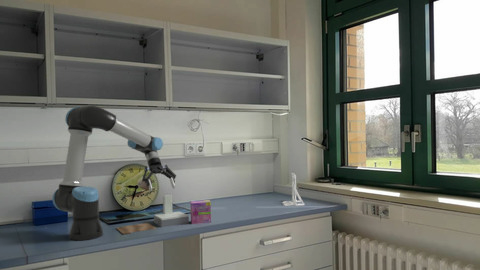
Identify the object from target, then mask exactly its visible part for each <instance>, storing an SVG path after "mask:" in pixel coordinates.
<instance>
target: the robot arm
mask: <svg viewBox="0 0 480 270" xmlns="http://www.w3.org/2000/svg"><path fill="white" fill-rule="evenodd" d="M65 123H66V125H67V126H68V128H67V131H68V133H69V135H70V137H69V141H68V147H67V154H66V161H65V167H64V173H63V179H62V181H61V182H59V183H58V188H57V189H55V191H54V192H53V194H52V199H51V200H52V204H53V206H54V207H55V208H56V209H57V210H59V211H61V212H65V213H66V212H67V213H72V223H71V227H70V230H69V233H68V236H69V239H70V240H72V241H87V240H88V241H89V240H92V239H97V238H99V237H102V236H103V235H104V229H103V226H102V223H101V220H100V210H99V209H100V208H99V207H100V205H99V204H100V203H99V199H100V197H99V191H98V189H97V188H96V187H93V186H86V185H84V184H83V182H82V181H83V180H82V179H83V175H84V174H83V173H84V167H85V161H86V160H85V159H86V154H87V147H88V141H89V137H90V136H91V135H92V134H93V130H94V129H96V130H97V129H99V130H102V131H105V132H111V133H114V134H116V135H117V136H120V137H122V138H125V139H127V147H129V148H130V149H132V150H135V151H138V152H140V153H142V154H144V156H145V159H146V162H147V166H144V171H143V172H144V174H143V176H142V180H141V181H142V182H144V183H145V184H146V186H147V187H148V189H149V191H150V192H152V191H153V189H154V188H153V186H152V182H151V177H152V176H153V175H154V174H155V175H156V174H158V175H159V174H160V175H163V176H165V177H167V178H168V179H169V181H170V184H171V187H172V190H175V188H176V184H175V183H176V180H175V179H176V178H177V174H176V173H175V172H174V171H173V170H171V168H169V167H168V166H169V165H167V164H165V165H164V166H163V165H162V161H161V159H160V156H159V153H158V151H160V150H162V148H163V146H164V142H163V139H162V138H161V137H158V136H157V137H156V136H152V135H150V134H148V133H146V132H144V131H143V130H140V129H139V128H136V127H135V126H133V125H130V124H129V123H127V122H125V121H123V120H122V119H119V118H118V117H117V115H116V114H114V113H112V112H110V111H108V110H107V109H105V108H103V107H99V106H96V105H86V106H85V105H84V106H83V105H82V106H81V105H79V106H75V107H72V108H71V109H70V110H68V111H67V113H66V114H65ZM148 171H150V172H149V174H148V175H147V172H148ZM146 176H147V177H146Z"/></svg>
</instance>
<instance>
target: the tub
mask: <svg viewBox="0 0 480 270" xmlns="http://www.w3.org/2000/svg"><path fill="white" fill-rule="evenodd" d="M189 221H190V220H189V215H188V217H181V218H174V219H167V220H160V219H159V218H157V217H155V216H153V223H154V224H156V226H157V225H158V226H159V227H161V228H166V227H172V226H179V225H184V224H185V225H186V224H189Z"/></svg>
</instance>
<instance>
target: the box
mask: <svg viewBox="0 0 480 270" xmlns="http://www.w3.org/2000/svg"><path fill="white" fill-rule="evenodd" d="M211 205H212V202H211V200H210V199H206V200H205V199H204V200H193V201H190V223H191V224H192V225H198V224H209V223H212V206H211Z"/></svg>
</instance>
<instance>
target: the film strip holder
mask: <svg viewBox="0 0 480 270" xmlns="http://www.w3.org/2000/svg"><path fill="white" fill-rule="evenodd" d="M297 198H298V200H297ZM282 205H283V206H286V207H289V206H291V207H292V206H293V207H294V206H295V207H297V206H299V207H301V206H305V205H306V203H304V201H303V199H302V198H301V196H300V194H299V192H298V189H297V175H296V174H295V172H291V200H289V201H287V200H286V201H285V200H284V201H282Z"/></svg>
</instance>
